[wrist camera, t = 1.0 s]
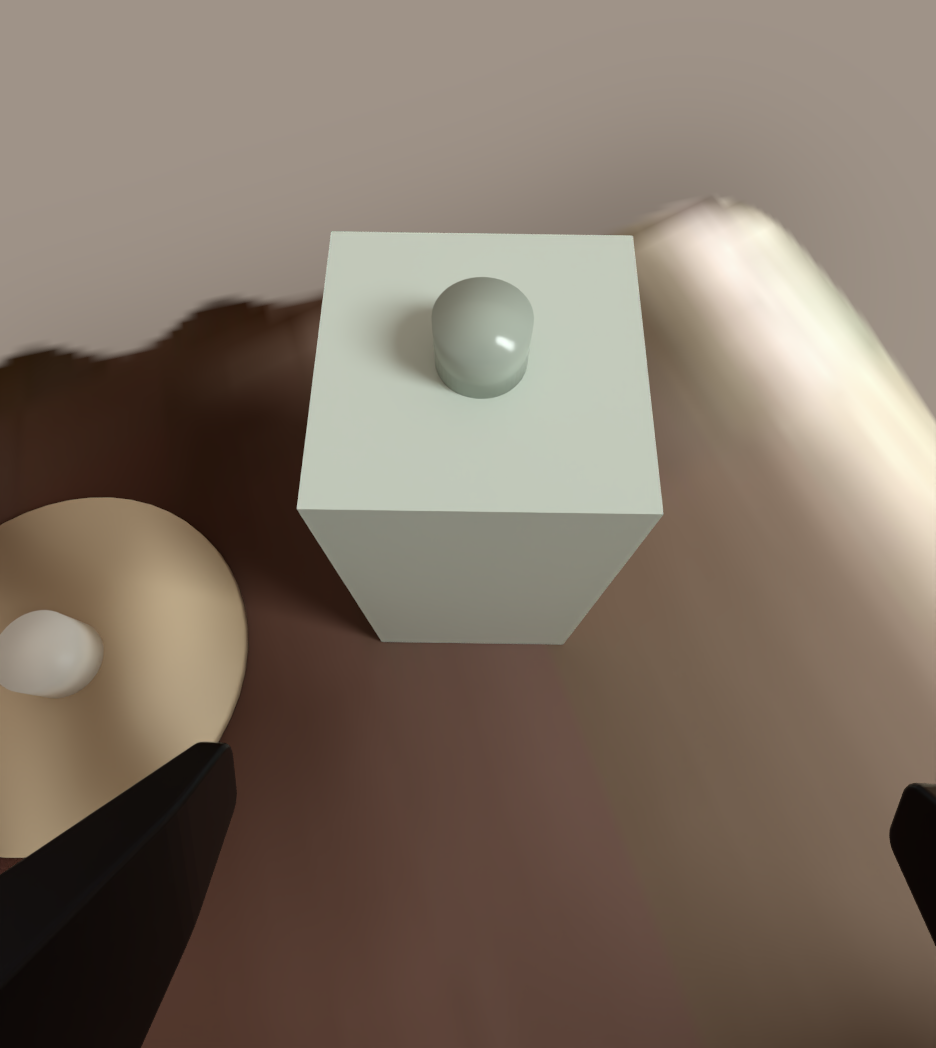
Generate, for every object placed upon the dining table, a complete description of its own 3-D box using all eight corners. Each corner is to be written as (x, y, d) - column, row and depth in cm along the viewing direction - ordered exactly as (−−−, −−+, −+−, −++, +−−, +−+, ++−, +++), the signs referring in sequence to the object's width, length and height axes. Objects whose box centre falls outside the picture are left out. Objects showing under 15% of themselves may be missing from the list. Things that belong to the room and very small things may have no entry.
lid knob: (54, 715, 21) (22, 710, 19) (8, 662, 21) (-26, 654, 20) (119, 654, 21) (93, 646, 20) (73, 605, 22) (44, 593, 20)
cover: (562, 644, 22) (686, 485, 10) (381, 641, 22) (277, 479, 10) (556, 480, 24) (648, 186, 12) (392, 478, 24) (319, 181, 12)
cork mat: (29, 948, 19) (16, 953, 18) (-177, 679, 22) (-194, 677, 21) (319, 644, 22) (315, 640, 21) (108, 446, 25) (99, 439, 24)
